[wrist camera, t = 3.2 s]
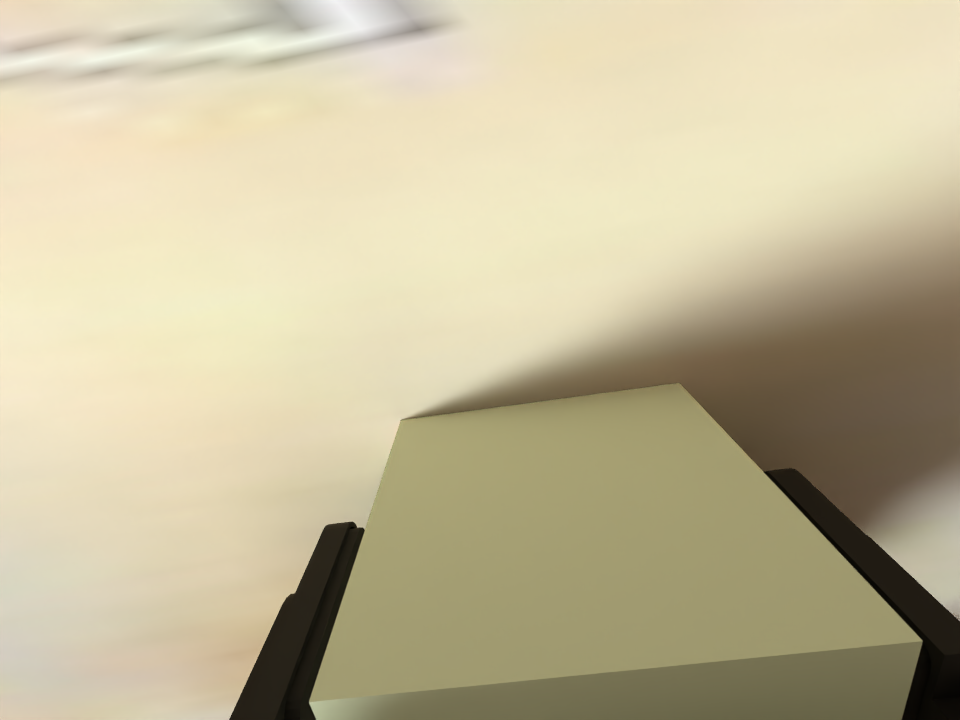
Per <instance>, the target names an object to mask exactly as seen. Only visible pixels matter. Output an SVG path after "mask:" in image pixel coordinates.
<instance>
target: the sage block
mask: <svg viewBox="0 0 960 720" xmlns="http://www.w3.org/2000/svg"><path fill="white" fill-rule="evenodd" d="M922 642H923V641H922V640H921V639H920V637H919V636H918V635H917V634H916V633H915V632H914V631H913V630H912V629H911V628H910V627H909V626H908V625H907V624H906V623H905V622H904V621H903V619H902V618H901V617H900V616H899V615H898V614H897V613H896V612H895V611H894V610H893V609H892V608H891V607H890V606H889V605H888V604H887V602H886V601H885V600H884V599H883V598H882V597H881V596H880V595H879V594H878V593H877V592H876V591H875V590H874V589H873V588H872V587H871V586H870V584H869V583H868V582H867V581H866V580H865V579H864V578H863V577H862V576H861V575H860V574H859V573H858V572H857V571H856V570H855V569H854V568H853V566H852V565H851V564H850V563H849V562H848V561H847V560H846V559H845V558H844V557H843V556H842V555H841V554H840V553H839V552H838V551H837V549H836V548H835V547H834V546H833V545H832V544H831V543H830V542H829V541H828V540H827V539H826V538H825V537H824V536H823V535H822V534H821V533H820V531H819V530H818V529H817V528H816V527H815V526H814V525H813V524H812V523H811V522H810V521H809V520H808V519H807V518H806V517H805V516H804V514H803V513H802V512H801V511H800V510H799V509H798V508H797V507H796V506H795V505H794V504H793V503H792V502H791V501H790V500H789V499H788V498H787V496H786V495H785V494H784V493H783V492H782V491H781V490H780V489H779V488H778V487H777V486H776V485H775V484H774V483H773V482H772V481H771V480H770V478H769V477H768V476H767V475H766V474H765V473H764V472H763V471H762V470H761V469H760V468H759V467H758V466H757V465H756V464H755V463H754V461H753V460H752V459H751V458H750V457H749V456H748V455H747V454H746V453H745V452H744V451H743V450H742V449H741V448H740V447H739V446H738V445H737V443H736V442H735V441H734V440H733V439H732V438H731V437H730V436H729V435H728V434H727V433H726V432H725V431H724V430H723V429H722V428H721V426H720V425H719V424H718V423H717V422H716V421H715V420H714V419H713V418H712V417H711V416H710V415H709V414H708V413H707V412H706V411H705V410H704V408H703V407H702V406H701V405H700V404H699V403H698V402H697V401H696V400H695V399H694V398H693V397H692V396H691V395H690V394H689V393H688V392H687V390H686V389H685V388H684V387H683V386H682V385H681V384H680V383H674V384H667V385H659V386H652V387H644V388H637V389H629V390H622V391H614V392H607V393H600V394H592V395H585V396H577V397H570V398H562V399H555V400H547V401H540V402H532V403H525V404H517V405H510V406H502V407H495V408H487V409H480V410H473V411H465V412H458V413H450V414H443V415H435V416H428V417H420V418H413V419H405V420H401V421H400V425H399V428H398V431H397V434H396V437H395V440H394V443H393V446H392V449H391V452H390V455H389V458H388V461H387V464H386V467H385V470H384V473H383V477H382V480H381V483H380V486H379V489H378V492H377V495H376V498H375V501H374V504H373V507H372V510H371V513H370V516H369V519H368V522H367V526H366V529H365V532H364V535H363V538H362V541H361V544H360V547H359V550H358V553H357V556H356V559H355V562H354V565H353V568H352V571H351V574H350V578H349V581H348V584H347V587H346V590H345V593H344V596H343V599H342V602H341V605H340V608H339V611H338V614H337V617H336V620H335V623H334V627H333V630H332V633H331V636H330V639H329V642H328V645H327V648H326V651H325V654H324V657H323V660H322V663H321V666H320V669H319V672H318V675H317V679H316V682H315V685H314V688H313V691H312V694H311V697H310V700H309V704H310V706H311V708H312V711H313V713H314V715H315V718H316V720H902V716H903V713H904V709H905V705H906V702H907V698H908V694H909V691H910V687H911V683H912V679H913V676H914V672H915V668H916V665H917V661H918V657H919V653H920V650H921V646H922Z"/></svg>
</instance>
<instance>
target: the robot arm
mask: <svg viewBox="0 0 960 720" xmlns="http://www.w3.org/2000/svg"><path fill="white" fill-rule="evenodd" d="M764 473H765V474H766V475H767V476H768V477H769V478H770V480H771V481H772V482H773V483H774V484H775V485H776V486H777V487H778V488H779V489H780V490H781V491H782V492H783V493H784V494H785V495H786V496H787V498H788V499H789V500H790V501H791V502H792V503H793V504H794V505H795V506H796V507H797V508H798V509H799V510H800V511H801V512H802V513H803V514H804V516H805V517H806V518H807V519H808V520H809V521H810V522H811V523H812V524H813V525H814V526H815V527H816V528H817V529H818V530H819V531H820V533H821V534H822V535H823V536H824V537H825V538H826V539H827V540H828V541H829V542H830V543H831V544H832V545H833V546H834V547H835V548H836V549H837V551H838V552H839V553H840V554H841V555H842V556H843V557H844V558H845V559H846V560H847V561H848V562H849V563H850V564H851V565H852V566H853V568H854V569H855V570H856V571H857V572H858V573H859V574H860V575H861V576H862V577H863V578H864V579H865V580H866V581H867V582H868V583H869V584H870V586H871V587H872V588H873V589H874V590H875V591H876V592H877V593H878V594H879V595H880V596H881V597H882V598H883V599H884V600H885V601H886V602H887V604H888V605H889V606H890V607H891V608H892V609H893V610H894V611H895V612H896V613H897V614H898V615H899V616H900V617H901V618H902V619H903V621H904V622H905V623H906V624H907V625H908V626H909V627H910V628H911V629H912V630H913V631H914V632H915V633H916V634H917V635H918V636H919V637H920V639H921V640H922V641H923V642H922V646H921V650H920V653H919V657H918V661H917V665H916V668H915V672H914V676H913V679H912V683H911V687H910V691H909V694H908V698H907V702H906V705H905V709H904V713H903V716H902V720H960V621H959V620H958V619H956V618H955V617H954V616H953V615H952V614H951V613H950V612H949V611H948V610H947V609H946V608H945V607H944V606H943V605H942V604H940V603H939V602H938V601H937V600H936V599H935V598H934V597H933V596H932V595H931V594H930V593H929V592H928V591H927V590H926V589H924V588H923V587H922V586H921V585H920V584H919V583H918V582H917V581H916V580H915V579H914V578H913V577H912V576H911V575H910V574H908V573H907V572H906V571H905V570H904V569H903V568H902V567H901V566H900V565H899V564H898V563H897V562H896V561H895V560H894V559H892V558H891V557H890V556H889V555H888V554H887V553H886V552H885V551H884V550H883V549H882V548H881V547H880V546H879V545H878V544H876V543H875V542H874V541H873V540H872V539H871V538H870V537H868V536H867V535H866V534H864V533H863V532H862V531H861V530H860V529H859V528H858V527H857V526H856V525H855V524H854V523H853V522H852V521H850V520H849V519H848V518H847V517H846V516H845V515H844V514H843V513H842V512H841V511H840V510H839V509H838V508H837V507H836V506H835V505H833V504H832V503H831V502H830V501H829V500H828V499H827V498H826V497H825V496H824V495H823V494H822V493H821V492H820V491H819V490H818V489H816V488H815V487H814V486H813V485H812V484H811V483H810V482H809V481H808V480H807V479H806V478H805V477H804V476H803V475H802V474H801V473H799V472H798V471H797V470H795V469H792V468H789V469H781V470H772V471H765V472H764ZM364 532H365V530H364V528H357V526H356V524H355V523H354V522H345V523H337V524H329V525H327V526H325V528H324V530H323V532H322V534H321V536H320V539H319V541H318V543H317V545H316V548H315V550H314V552H313V554H312V557H311V559H310V561H309V563H308V566H307V568H306V570H305V572H304V575H303V577H302V579H301V581H300V584H299V586H298V588H297V590H296V593H295V594H290V595H289V596H288V597H287V598H286V600H285V601H284V603H283V605H282V607H281V609H280V611H279V613H278V615H277V617H276V620H275V622H274V624H273V626H272V628H271V630H270V633H269V635H268V637H267V639H266V641H265V643H264V646H263V648H262V650H261V652H260V654H259V656H258V659H257V661H256V663H255V665H254V667H253V669H252V672H251V674H250V676H249V678H248V680H247V682H246V685H245V687H244V689H243V691H242V693H241V695H240V698H239V700H238V702H237V704H236V706H235V708H234V711H233V713H232V715H231V717H230V719H229V720H316V718H315V715H314V713H313V711H312V708H311V706H310V704H309V700H310V697H311V694H312V691H313V688H314V685H315V682H316V679H317V675H318V672H319V669H320V666H321V663H322V660H323V657H324V654H325V651H326V648H327V645H328V642H329V639H330V636H331V633H332V630H333V627H334V623H335V620H336V617H337V614H338V611H339V608H340V605H341V602H342V599H343V596H344V593H345V590H346V587H347V584H348V581H349V578H350V574H351V571H352V568H353V565H354V562H355V559H356V556H357V553H358V550H359V547H360V544H361V541H362V538H363V535H364Z"/></svg>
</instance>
